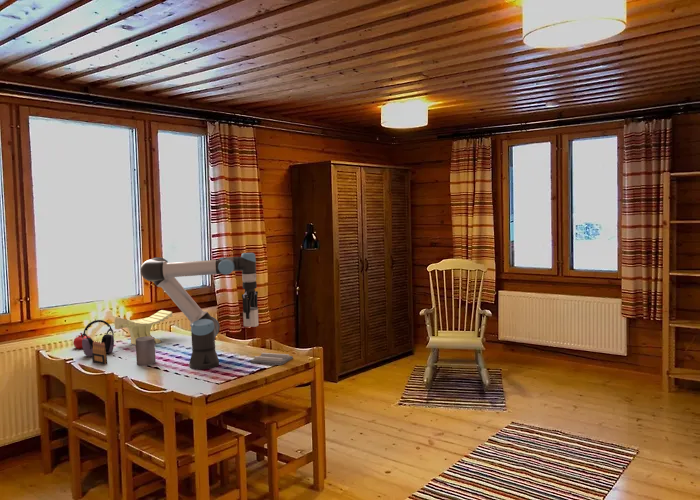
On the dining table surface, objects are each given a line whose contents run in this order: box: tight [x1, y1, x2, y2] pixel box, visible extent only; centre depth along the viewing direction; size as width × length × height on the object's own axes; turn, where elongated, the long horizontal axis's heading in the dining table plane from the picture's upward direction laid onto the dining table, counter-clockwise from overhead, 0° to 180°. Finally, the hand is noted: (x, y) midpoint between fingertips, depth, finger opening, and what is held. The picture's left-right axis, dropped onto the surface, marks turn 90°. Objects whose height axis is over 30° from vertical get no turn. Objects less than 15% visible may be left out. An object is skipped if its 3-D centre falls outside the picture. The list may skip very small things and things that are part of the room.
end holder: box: [250, 352, 294, 366], centre depth 310 cm, size 14×18×3 cm
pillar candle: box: [135, 335, 157, 366], centre depth 311 cm, size 10×10×15 cm
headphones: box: [82, 319, 115, 358], centre depth 334 cm, size 9×17×20 cm, turn 136°
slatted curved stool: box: [114, 309, 173, 346], centre depth 362 cm, size 30×16×18 cm, turn 137°
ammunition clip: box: [91, 340, 108, 365], centre depth 315 cm, size 11×2×12 cm, turn 57°
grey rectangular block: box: [242, 306, 259, 328], centre depth 317 cm, size 4×7×10 cm, turn 70°
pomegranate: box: [72, 332, 92, 350], centre depth 353 cm, size 10×10×9 cm
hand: (250, 323), depth 317 cm, fingers closed on grey rectangular block, 4 cm apart
